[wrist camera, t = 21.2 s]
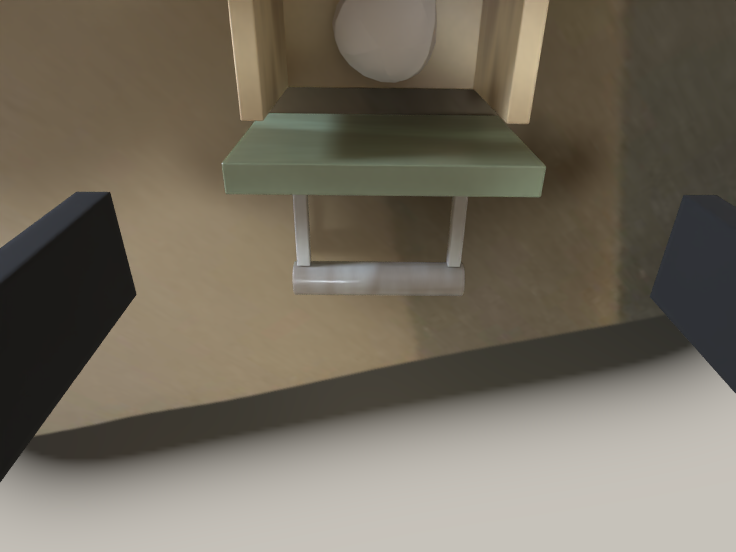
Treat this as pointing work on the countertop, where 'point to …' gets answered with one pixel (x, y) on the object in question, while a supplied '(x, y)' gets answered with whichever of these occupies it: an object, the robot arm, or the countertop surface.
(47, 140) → the countertop surface
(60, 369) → the robot arm
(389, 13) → the white teardrop piece
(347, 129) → the drawer
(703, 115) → the countertop surface
